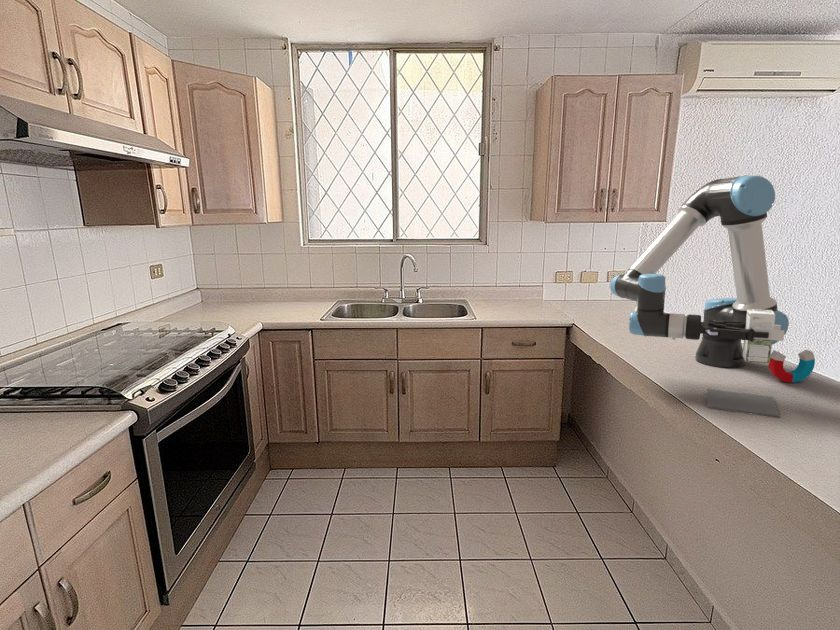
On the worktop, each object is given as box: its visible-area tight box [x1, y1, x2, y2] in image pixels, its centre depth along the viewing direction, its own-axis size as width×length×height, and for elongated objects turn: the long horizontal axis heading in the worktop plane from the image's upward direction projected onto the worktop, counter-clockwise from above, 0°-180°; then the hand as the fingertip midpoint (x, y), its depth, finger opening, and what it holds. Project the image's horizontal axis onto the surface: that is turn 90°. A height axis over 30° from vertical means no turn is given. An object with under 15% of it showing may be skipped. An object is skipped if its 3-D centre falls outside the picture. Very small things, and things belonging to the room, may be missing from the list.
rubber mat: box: [706, 388, 780, 418], centre depth 129 cm, size 14×16×1 cm
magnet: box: [768, 349, 816, 383], centre depth 142 cm, size 12×3×10 cm, turn 84°
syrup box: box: [742, 309, 775, 364], centre depth 129 cm, size 6×6×14 cm
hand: (781, 332), depth 126 cm, fingers closed on syrup box, 6 cm apart
